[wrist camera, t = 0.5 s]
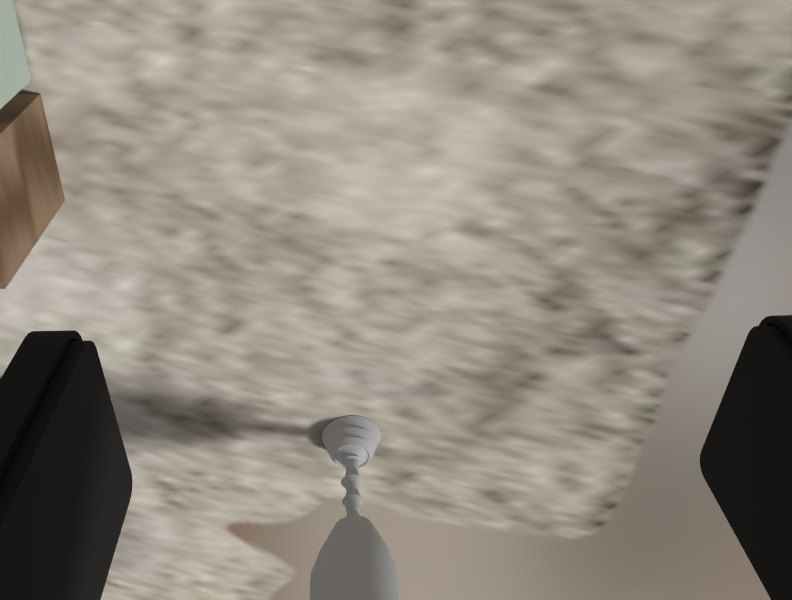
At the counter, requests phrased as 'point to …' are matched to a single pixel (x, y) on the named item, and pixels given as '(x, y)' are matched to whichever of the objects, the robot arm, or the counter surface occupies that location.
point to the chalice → (353, 525)
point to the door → (11, 55)
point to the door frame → (25, 181)
